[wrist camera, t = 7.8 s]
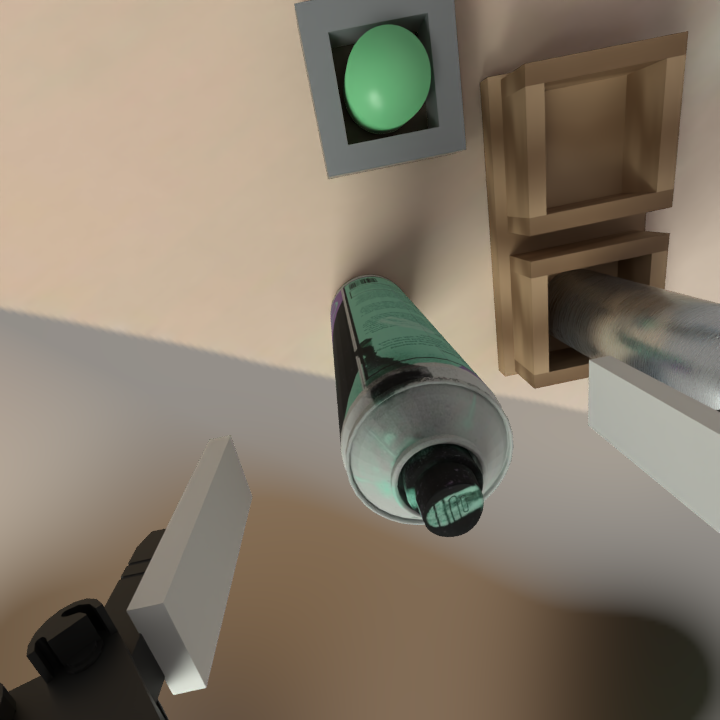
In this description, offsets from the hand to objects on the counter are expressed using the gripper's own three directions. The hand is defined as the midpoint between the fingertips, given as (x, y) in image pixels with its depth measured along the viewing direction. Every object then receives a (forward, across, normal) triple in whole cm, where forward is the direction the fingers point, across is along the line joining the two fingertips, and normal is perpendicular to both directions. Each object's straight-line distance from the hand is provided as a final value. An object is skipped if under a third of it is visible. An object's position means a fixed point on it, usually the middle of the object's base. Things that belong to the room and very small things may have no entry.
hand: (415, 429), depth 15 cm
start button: (+15, +3, +14) cm, 20 cm away
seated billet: (+14, +14, -2) cm, 20 cm away
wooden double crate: (+15, +14, +4) cm, 21 cm away
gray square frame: (+15, +3, +14) cm, 20 cm away
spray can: (+16, 0, 0) cm, 16 cm away
